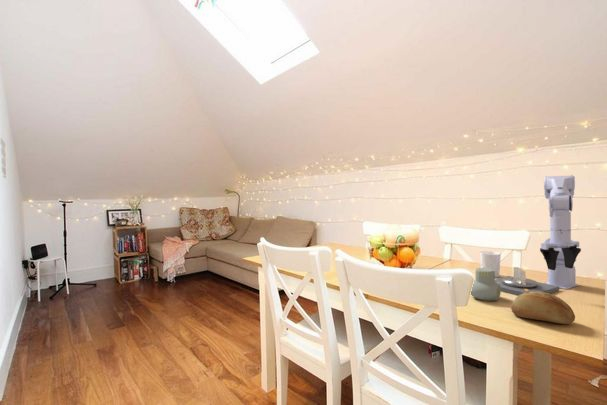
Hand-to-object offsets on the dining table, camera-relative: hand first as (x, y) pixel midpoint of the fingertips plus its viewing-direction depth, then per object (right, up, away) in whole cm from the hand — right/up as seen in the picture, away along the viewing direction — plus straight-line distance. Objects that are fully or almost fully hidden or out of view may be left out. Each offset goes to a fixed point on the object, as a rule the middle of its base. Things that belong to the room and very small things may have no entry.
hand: (560, 268), depth 116 cm
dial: (-8, -8, +9) cm, 15 cm away
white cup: (-8, -9, +29) cm, 31 cm away
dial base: (-8, -9, +9) cm, 16 cm away
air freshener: (-27, -10, -1) cm, 29 cm away
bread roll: (-21, -11, -20) cm, 31 cm away
